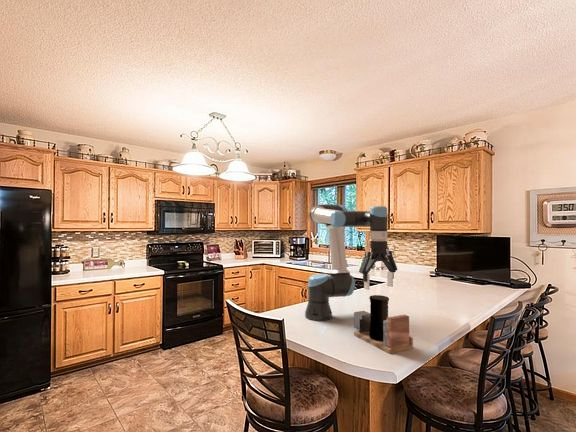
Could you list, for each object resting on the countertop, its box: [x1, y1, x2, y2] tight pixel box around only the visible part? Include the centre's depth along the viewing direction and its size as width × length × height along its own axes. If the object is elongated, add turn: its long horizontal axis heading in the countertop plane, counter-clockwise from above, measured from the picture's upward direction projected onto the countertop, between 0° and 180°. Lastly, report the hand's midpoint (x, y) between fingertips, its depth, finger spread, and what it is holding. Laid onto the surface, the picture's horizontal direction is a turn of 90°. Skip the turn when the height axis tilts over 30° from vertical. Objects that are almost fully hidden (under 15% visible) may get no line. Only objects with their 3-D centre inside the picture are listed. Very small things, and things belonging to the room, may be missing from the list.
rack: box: [353, 314, 414, 355], centre depth 138 cm, size 23×13×14 cm, turn 26°
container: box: [368, 294, 390, 341], centre depth 138 cm, size 9×9×18 cm
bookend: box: [353, 310, 370, 333], centre depth 149 cm, size 7×10×8 cm
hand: (378, 287), depth 139 cm, fingers open, 13 cm apart
